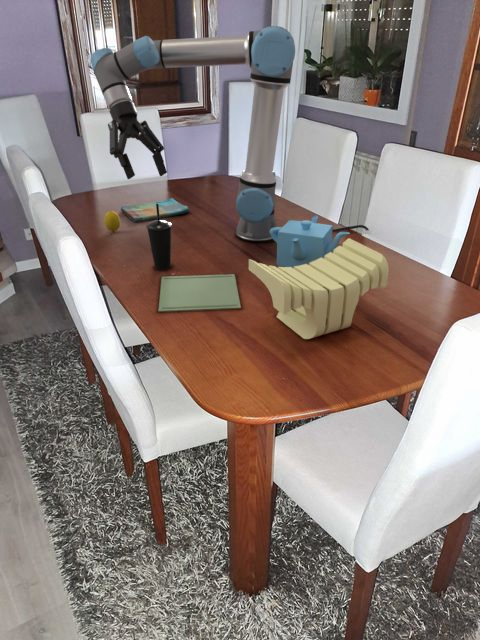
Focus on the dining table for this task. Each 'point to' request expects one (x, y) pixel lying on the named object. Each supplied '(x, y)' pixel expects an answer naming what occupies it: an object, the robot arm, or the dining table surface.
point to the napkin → (198, 293)
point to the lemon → (112, 221)
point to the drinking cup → (160, 242)
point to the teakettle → (303, 242)
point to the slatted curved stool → (323, 288)
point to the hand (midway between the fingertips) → (148, 175)
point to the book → (154, 210)
